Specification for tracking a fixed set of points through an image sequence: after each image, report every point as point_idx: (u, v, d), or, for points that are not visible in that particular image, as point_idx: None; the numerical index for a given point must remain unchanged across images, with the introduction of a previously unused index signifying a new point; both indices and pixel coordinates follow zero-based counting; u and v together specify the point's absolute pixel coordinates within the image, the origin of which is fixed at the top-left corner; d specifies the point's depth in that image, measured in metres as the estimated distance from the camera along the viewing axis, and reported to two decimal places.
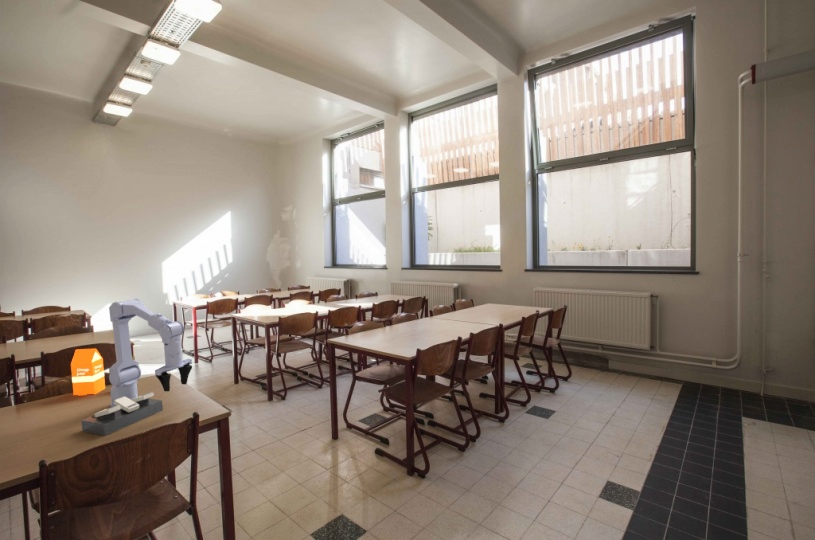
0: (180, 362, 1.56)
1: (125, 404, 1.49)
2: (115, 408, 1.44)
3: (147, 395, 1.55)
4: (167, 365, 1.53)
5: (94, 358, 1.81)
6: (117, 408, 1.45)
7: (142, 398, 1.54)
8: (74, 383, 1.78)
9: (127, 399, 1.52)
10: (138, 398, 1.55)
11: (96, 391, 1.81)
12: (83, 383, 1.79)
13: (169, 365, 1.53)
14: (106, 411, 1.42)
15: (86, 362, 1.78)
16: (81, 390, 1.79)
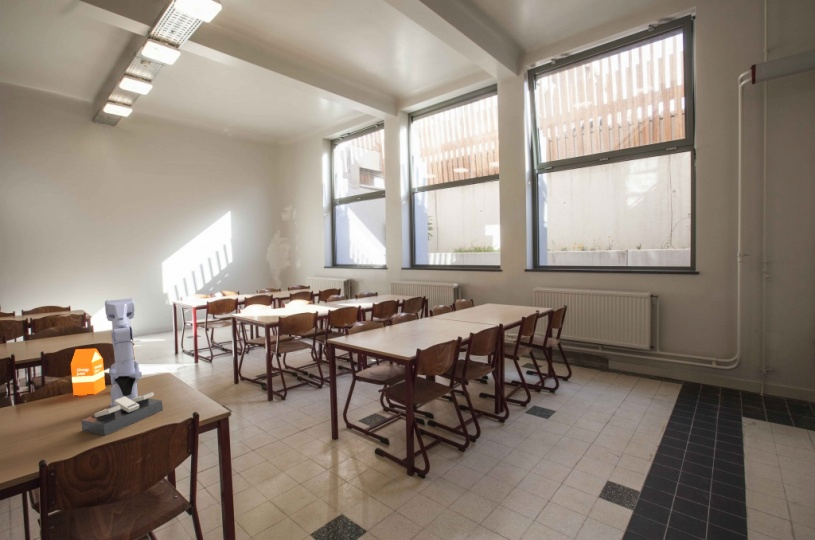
0: (118, 371, 1.47)
1: (125, 404, 1.49)
2: (115, 408, 1.44)
3: (147, 395, 1.55)
4: None
5: (94, 358, 1.81)
6: (117, 408, 1.45)
7: (142, 398, 1.54)
8: (74, 383, 1.78)
9: (127, 399, 1.52)
10: (138, 398, 1.55)
11: (96, 391, 1.81)
12: (83, 383, 1.79)
13: None
14: (106, 411, 1.42)
15: (86, 362, 1.78)
16: (81, 390, 1.79)
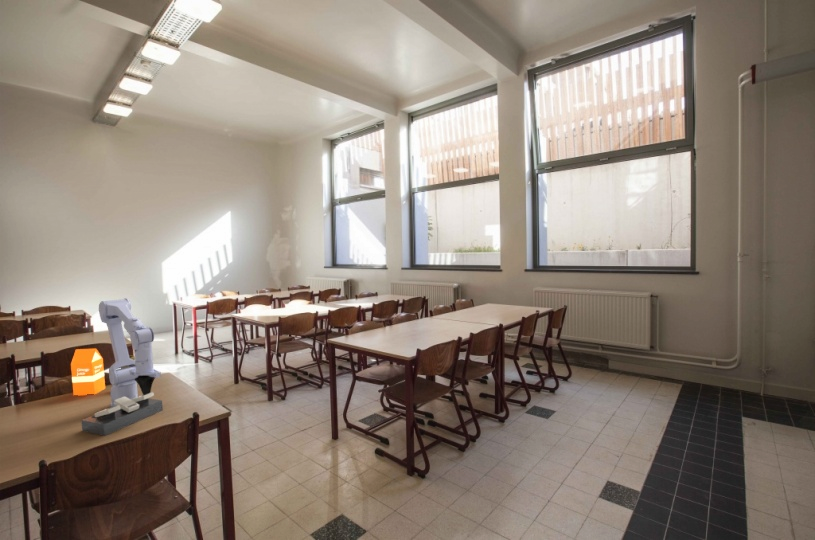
0: (138, 371, 1.53)
1: (125, 404, 1.49)
2: (115, 408, 1.44)
3: (147, 395, 1.55)
4: None
5: (94, 358, 1.81)
6: (117, 408, 1.45)
7: (142, 398, 1.54)
8: (74, 383, 1.78)
9: (127, 399, 1.52)
10: (138, 398, 1.55)
11: (96, 391, 1.81)
12: (83, 383, 1.79)
13: None
14: (106, 411, 1.42)
15: (86, 362, 1.78)
16: (81, 390, 1.79)
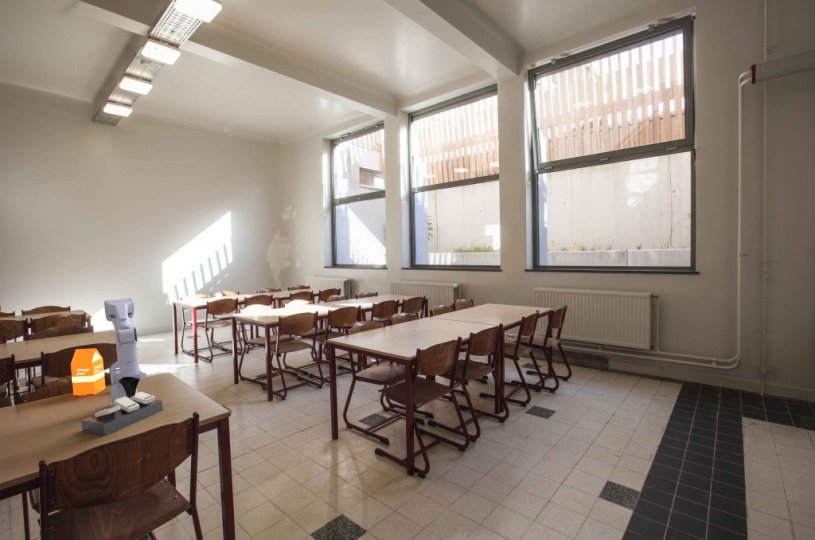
0: (123, 372, 1.47)
1: (125, 404, 1.49)
2: (115, 408, 1.44)
3: (149, 400, 1.55)
4: None
5: (94, 358, 1.81)
6: (117, 408, 1.45)
7: (143, 402, 1.54)
8: (74, 383, 1.78)
9: (127, 399, 1.52)
10: (139, 399, 1.55)
11: (96, 391, 1.81)
12: (83, 383, 1.79)
13: None
14: (106, 411, 1.42)
15: (86, 362, 1.78)
16: (81, 390, 1.79)
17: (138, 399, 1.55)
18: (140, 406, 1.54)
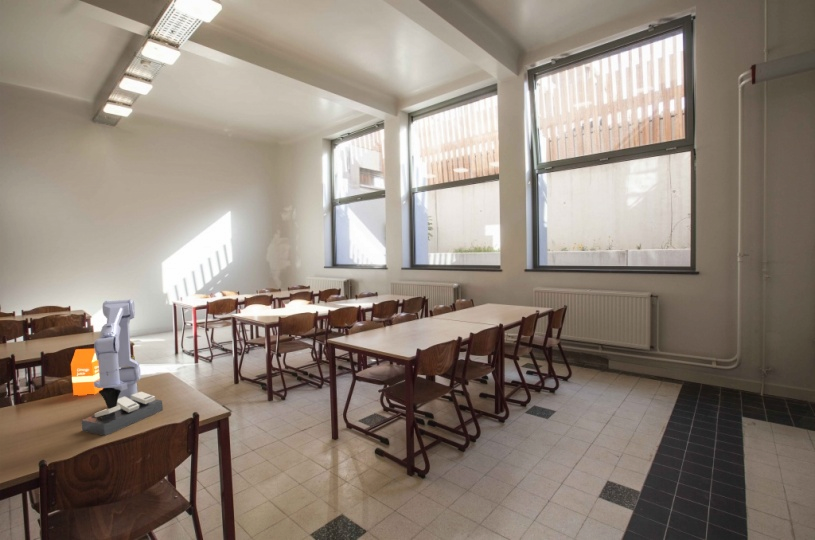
0: (103, 383, 1.40)
1: (125, 404, 1.49)
2: (115, 408, 1.44)
3: (149, 400, 1.55)
4: None
5: (94, 358, 1.81)
6: (117, 408, 1.45)
7: (143, 402, 1.54)
8: (74, 383, 1.78)
9: (127, 399, 1.52)
10: (139, 399, 1.55)
11: (96, 391, 1.81)
12: (83, 383, 1.79)
13: None
14: (106, 411, 1.42)
15: (86, 362, 1.78)
16: (81, 390, 1.79)
17: (138, 399, 1.55)
18: (140, 406, 1.54)
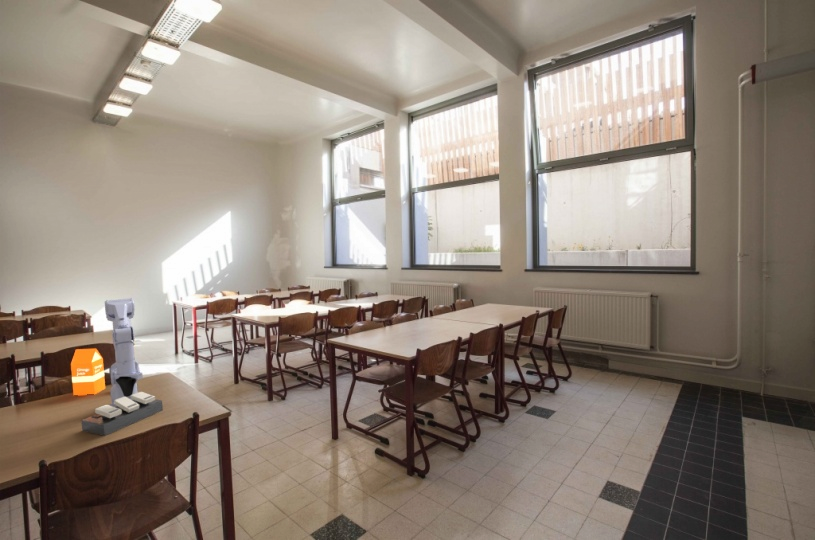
0: (119, 372, 1.46)
1: (125, 404, 1.49)
2: (117, 413, 1.44)
3: (149, 400, 1.55)
4: None
5: (94, 358, 1.81)
6: (118, 413, 1.44)
7: (143, 402, 1.54)
8: (74, 383, 1.78)
9: (127, 399, 1.52)
10: (139, 399, 1.55)
11: (96, 391, 1.81)
12: (83, 383, 1.79)
13: None
14: (107, 414, 1.42)
15: (86, 362, 1.78)
16: (81, 390, 1.79)
17: (138, 399, 1.55)
18: (140, 406, 1.54)
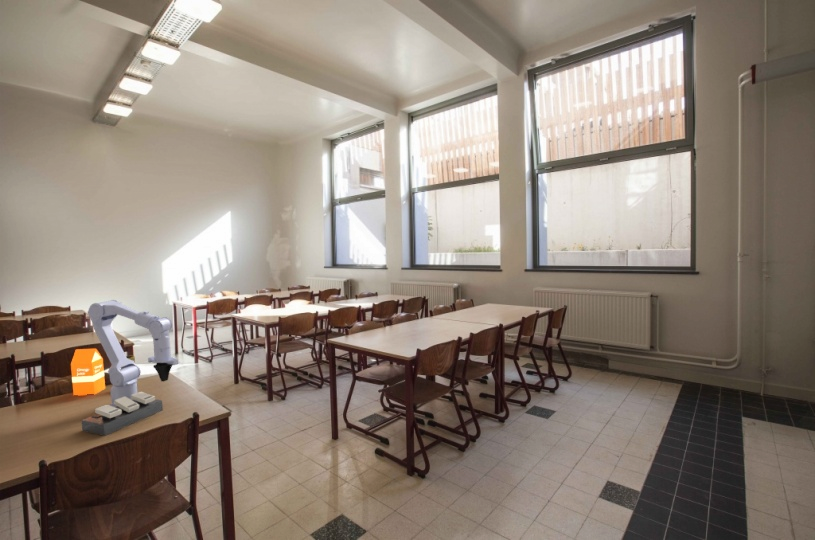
0: (157, 358, 1.61)
1: (125, 404, 1.49)
2: (117, 413, 1.44)
3: (149, 400, 1.55)
4: None
5: (94, 358, 1.81)
6: (118, 413, 1.44)
7: (143, 402, 1.54)
8: (74, 383, 1.78)
9: (127, 399, 1.52)
10: (139, 399, 1.55)
11: (96, 391, 1.81)
12: (83, 383, 1.79)
13: None
14: (107, 414, 1.42)
15: (86, 362, 1.78)
16: (81, 390, 1.79)
17: (138, 399, 1.55)
18: (140, 406, 1.54)
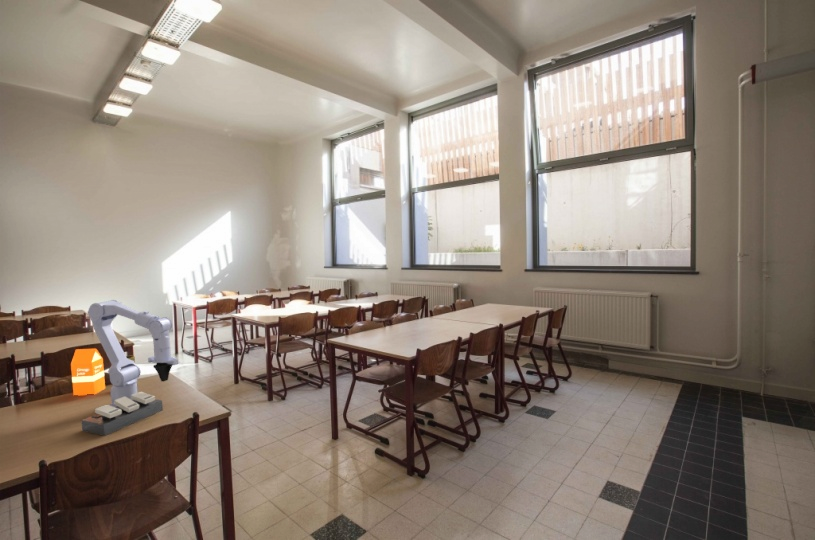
0: (157, 358, 1.61)
1: (125, 404, 1.49)
2: (117, 413, 1.44)
3: (149, 400, 1.55)
4: None
5: (94, 358, 1.81)
6: (118, 413, 1.44)
7: (143, 402, 1.54)
8: (74, 383, 1.78)
9: (127, 399, 1.52)
10: (139, 399, 1.55)
11: (96, 391, 1.81)
12: (83, 383, 1.79)
13: None
14: (107, 414, 1.42)
15: (86, 362, 1.78)
16: (81, 390, 1.79)
17: (138, 399, 1.55)
18: (140, 406, 1.54)
